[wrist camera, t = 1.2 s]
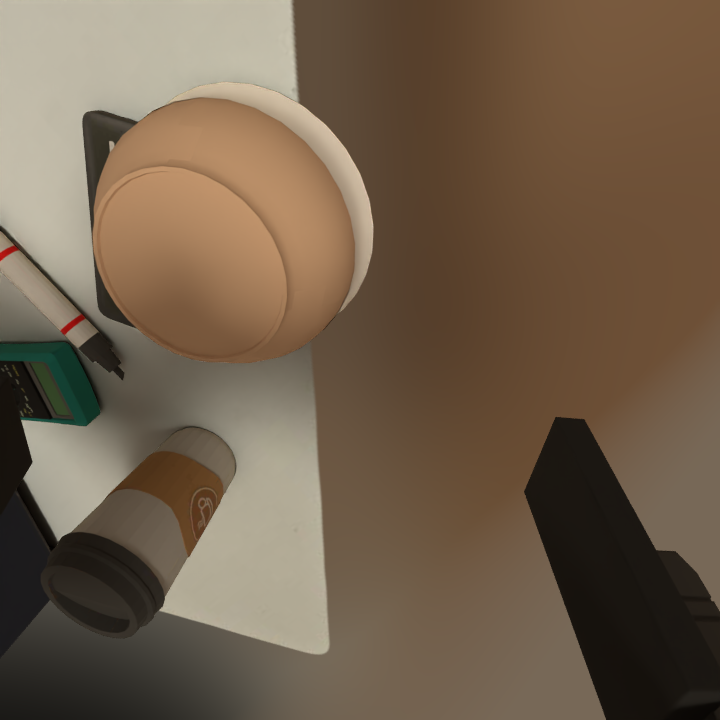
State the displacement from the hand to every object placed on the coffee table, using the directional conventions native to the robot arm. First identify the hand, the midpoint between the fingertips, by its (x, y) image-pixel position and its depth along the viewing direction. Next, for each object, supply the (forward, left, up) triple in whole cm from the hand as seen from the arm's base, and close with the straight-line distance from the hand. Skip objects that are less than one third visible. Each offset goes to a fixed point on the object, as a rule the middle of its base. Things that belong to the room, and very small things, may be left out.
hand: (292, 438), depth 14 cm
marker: (+31, -1, -22) cm, 38 cm away
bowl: (+12, -2, -13) cm, 18 cm away
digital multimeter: (+40, +5, -22) cm, 46 cm away
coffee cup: (+26, +16, -22) cm, 38 cm away
